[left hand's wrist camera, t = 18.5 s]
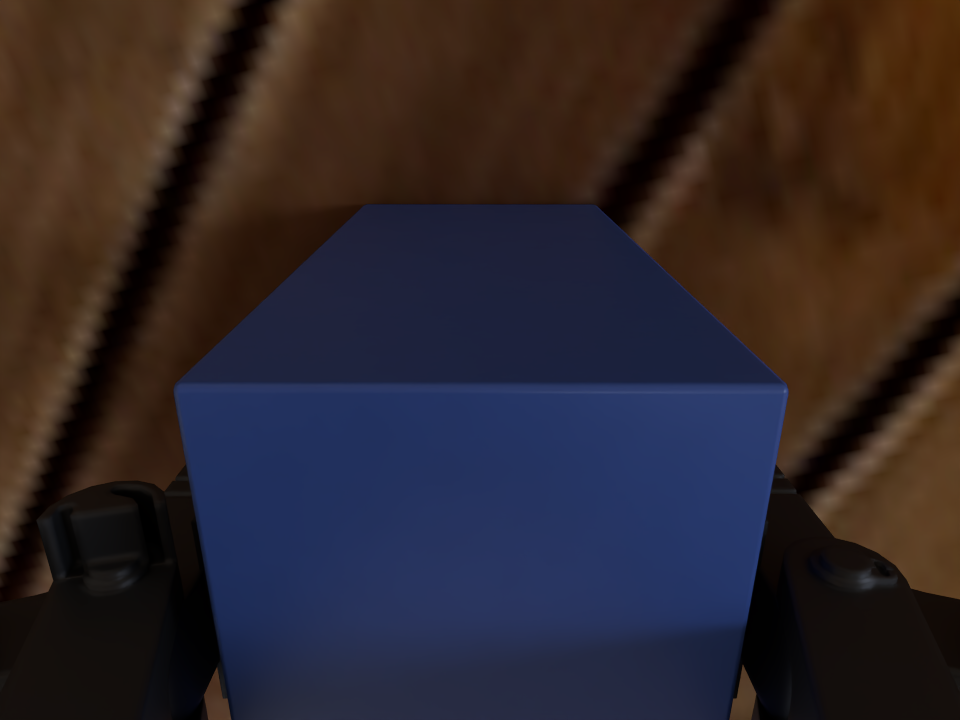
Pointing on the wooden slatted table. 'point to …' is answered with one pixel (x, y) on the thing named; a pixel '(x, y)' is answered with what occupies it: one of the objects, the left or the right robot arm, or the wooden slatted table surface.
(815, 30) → the wooden slatted table surface
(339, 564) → the brick
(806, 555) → the left robot arm
